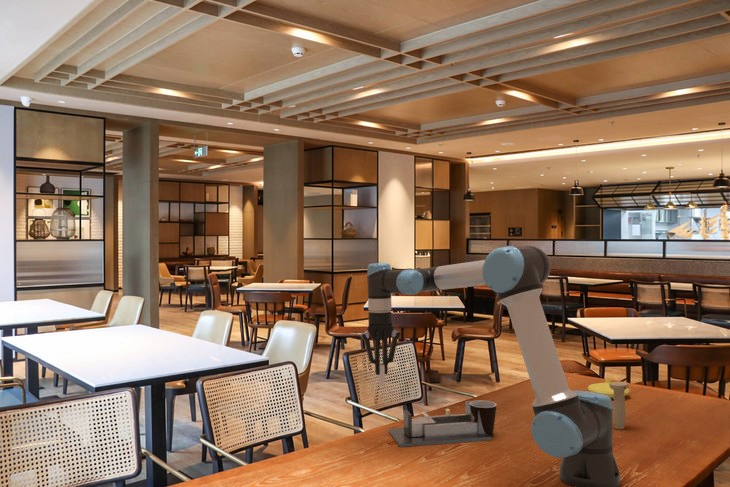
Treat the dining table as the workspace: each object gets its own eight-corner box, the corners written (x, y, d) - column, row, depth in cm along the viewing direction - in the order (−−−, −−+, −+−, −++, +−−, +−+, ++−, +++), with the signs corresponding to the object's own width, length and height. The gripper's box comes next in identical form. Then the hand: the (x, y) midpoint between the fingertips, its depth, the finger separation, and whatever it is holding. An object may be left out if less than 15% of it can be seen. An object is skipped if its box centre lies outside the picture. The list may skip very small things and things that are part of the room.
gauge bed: (491, 440, 197) (490, 411, 197) (399, 447, 192) (399, 418, 192) (473, 425, 213) (473, 399, 213) (388, 431, 208) (388, 404, 207)
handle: (606, 428, 208) (606, 383, 208) (619, 425, 211) (619, 381, 211) (618, 431, 203) (618, 386, 203) (632, 428, 206) (631, 383, 206)
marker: (450, 424, 210) (450, 410, 209) (447, 424, 209) (447, 410, 209) (448, 422, 211) (448, 408, 211) (445, 423, 211) (445, 409, 211)
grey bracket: (436, 434, 199) (435, 413, 199) (408, 437, 197) (408, 415, 197) (426, 424, 210) (426, 404, 210) (400, 426, 208) (399, 406, 208)
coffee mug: (495, 439, 197) (495, 408, 197) (468, 437, 199) (468, 406, 199) (498, 428, 208) (498, 399, 208) (472, 426, 211) (472, 397, 210)
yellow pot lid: (632, 394, 251) (632, 377, 251) (625, 403, 238) (625, 385, 238) (592, 390, 259) (592, 373, 259) (583, 398, 246) (583, 380, 246)
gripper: (397, 309, 203) (398, 380, 203) (358, 310, 201) (359, 383, 201) (402, 311, 196) (404, 385, 196) (362, 313, 194) (363, 388, 194)
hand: (381, 384), depth 199 cm, fingers closed
